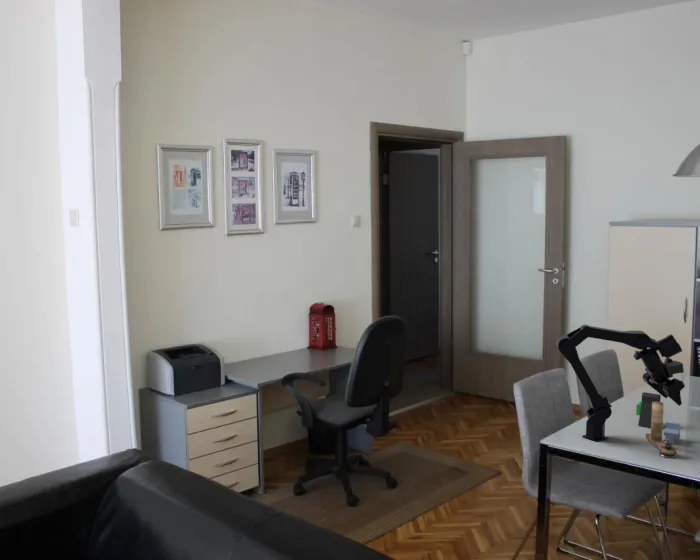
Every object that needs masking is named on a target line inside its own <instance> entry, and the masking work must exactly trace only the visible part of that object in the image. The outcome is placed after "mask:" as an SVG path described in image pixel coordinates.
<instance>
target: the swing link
mask: <svg viewBox="0 0 700 560" xmlns="http://www.w3.org/2000/svg"><path fill="white" fill-rule="evenodd" d="M663 424H664V402H661V401H660V402H652V417H651V428H650V433H645V439H647V440H648V442H650V443H651V444H653V446H655V447H656V448H657V449H658V450H659V452H660V453H662V454H664V455H671V456H672V455H676V454H677V448H675V447H673V446H672V448H671V449H667V448H665V444H664V443H663V427H664V426H663Z"/></svg>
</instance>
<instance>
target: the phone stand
mask: <svg viewBox="0 0 700 560" xmlns="http://www.w3.org/2000/svg"><path fill="white" fill-rule="evenodd" d="M661 396H662V395H661V394H660V393H659V394H657V393H651V392H644V391H643V392H642V393H641V401H642V402H641V410H640V415H639V417H638V425H637V426H638V427H643V428H647V427H648V429H651V417H652V402H661Z"/></svg>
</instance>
